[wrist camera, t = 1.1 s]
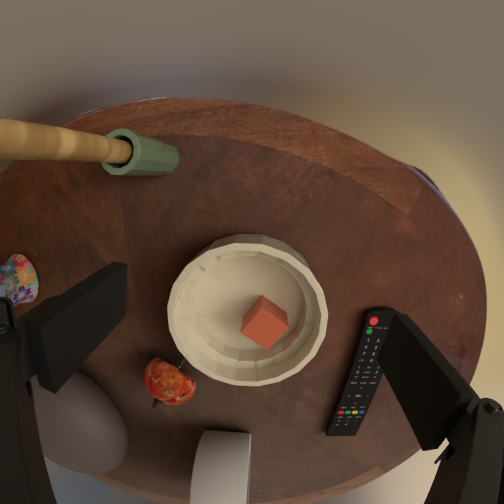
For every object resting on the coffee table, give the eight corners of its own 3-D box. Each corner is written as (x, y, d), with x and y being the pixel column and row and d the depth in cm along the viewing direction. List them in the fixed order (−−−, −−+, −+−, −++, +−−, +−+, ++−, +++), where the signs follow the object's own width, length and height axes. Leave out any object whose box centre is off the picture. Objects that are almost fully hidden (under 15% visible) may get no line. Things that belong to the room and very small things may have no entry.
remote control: (325, 430, 43) (326, 436, 41) (366, 305, 37) (369, 309, 36) (353, 430, 43) (355, 435, 41) (400, 307, 37) (404, 311, 36)
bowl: (234, 203, 35) (228, 207, 29) (346, 289, 37) (359, 309, 31) (157, 309, 39) (141, 330, 33) (261, 379, 40) (260, 406, 35)
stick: (161, 147, 33) (-78, 104, 4) (173, 156, 33) (-70, 123, 4) (151, 161, 34) (-92, 152, 4) (164, 170, 34) (-83, 175, 5)
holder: (161, 136, 33) (115, 120, 22) (186, 154, 34) (148, 143, 22) (143, 163, 34) (91, 159, 22) (167, 181, 35) (122, 184, 23)
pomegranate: (166, 332, 42) (125, 381, 37) (179, 338, 35) (130, 397, 31) (202, 362, 44) (163, 410, 39) (221, 373, 37) (176, 428, 33)
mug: (39, 252, 38) (-7, 271, 27) (47, 307, 40) (7, 335, 29) (-3, 246, 38) (-44, 261, 28) (4, 295, 40) (-33, 316, 30)
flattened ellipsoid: (164, 439, 45) (142, 501, 31) (75, 438, 48) (47, 481, 33) (95, 328, 40) (41, 382, 26) (14, 347, 43) (-30, 383, 28)
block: (261, 294, 37) (261, 307, 33) (287, 312, 37) (289, 327, 33) (242, 317, 38) (240, 332, 34) (267, 334, 38) (267, 350, 34)
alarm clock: (249, 482, 47) (244, 560, 28) (213, 479, 48) (200, 556, 28) (251, 417, 42) (243, 522, 23) (205, 414, 43) (180, 515, 23)
